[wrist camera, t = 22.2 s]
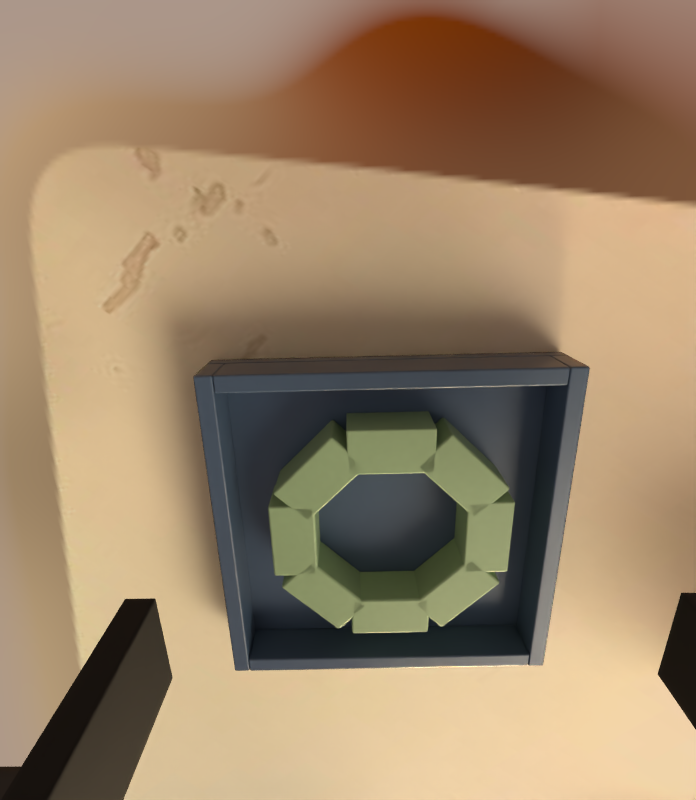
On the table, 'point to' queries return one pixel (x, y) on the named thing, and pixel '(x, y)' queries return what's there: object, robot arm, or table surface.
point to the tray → (390, 498)
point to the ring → (390, 590)
